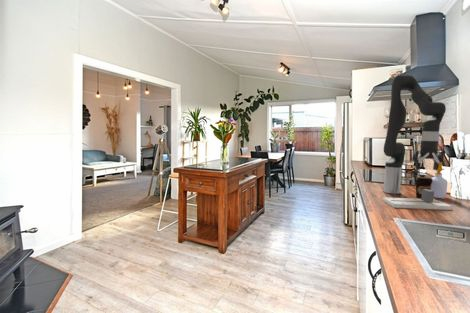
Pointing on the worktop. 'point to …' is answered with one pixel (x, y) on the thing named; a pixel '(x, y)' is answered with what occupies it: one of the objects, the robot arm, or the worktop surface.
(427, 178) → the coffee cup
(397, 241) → the worktop surface
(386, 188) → the robot arm
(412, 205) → the console board
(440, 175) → the soap bottle
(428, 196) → the fader cap
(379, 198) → the worktop surface
